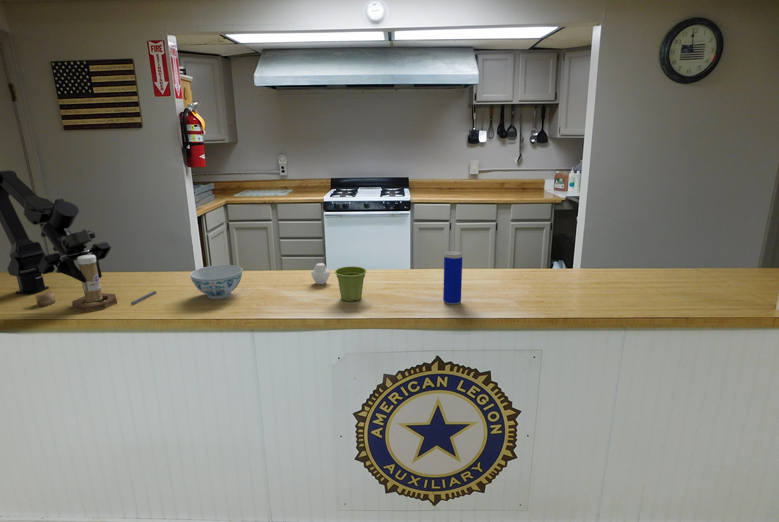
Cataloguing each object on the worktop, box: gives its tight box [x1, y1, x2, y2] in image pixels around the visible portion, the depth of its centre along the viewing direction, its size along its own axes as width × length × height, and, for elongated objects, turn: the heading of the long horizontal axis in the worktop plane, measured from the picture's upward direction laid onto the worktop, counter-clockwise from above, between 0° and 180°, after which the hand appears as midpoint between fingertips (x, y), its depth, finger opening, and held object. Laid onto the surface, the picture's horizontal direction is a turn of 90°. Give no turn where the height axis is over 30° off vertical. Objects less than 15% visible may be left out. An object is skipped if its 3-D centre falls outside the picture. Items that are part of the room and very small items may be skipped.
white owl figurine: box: [310, 262, 331, 285], centre depth 157 cm, size 6×6×7 cm
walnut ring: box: [71, 292, 118, 313], centre depth 141 cm, size 11×11×2 cm
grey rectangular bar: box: [130, 290, 157, 306], centre depth 145 cm, size 10×1×1 cm, turn 168°
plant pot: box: [334, 265, 367, 302], centre depth 143 cm, size 9×9×9 cm
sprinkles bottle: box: [76, 255, 103, 303], centre depth 139 cm, size 5×5×13 cm
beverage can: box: [442, 250, 463, 306], centre depth 138 cm, size 5×5×15 cm
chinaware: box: [189, 264, 243, 300], centre depth 146 cm, size 15×15×8 cm
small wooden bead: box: [35, 291, 57, 307], centre depth 141 cm, size 4×4×3 cm
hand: (93, 279), depth 138 cm, fingers closed on sprinkles bottle, 4 cm apart
